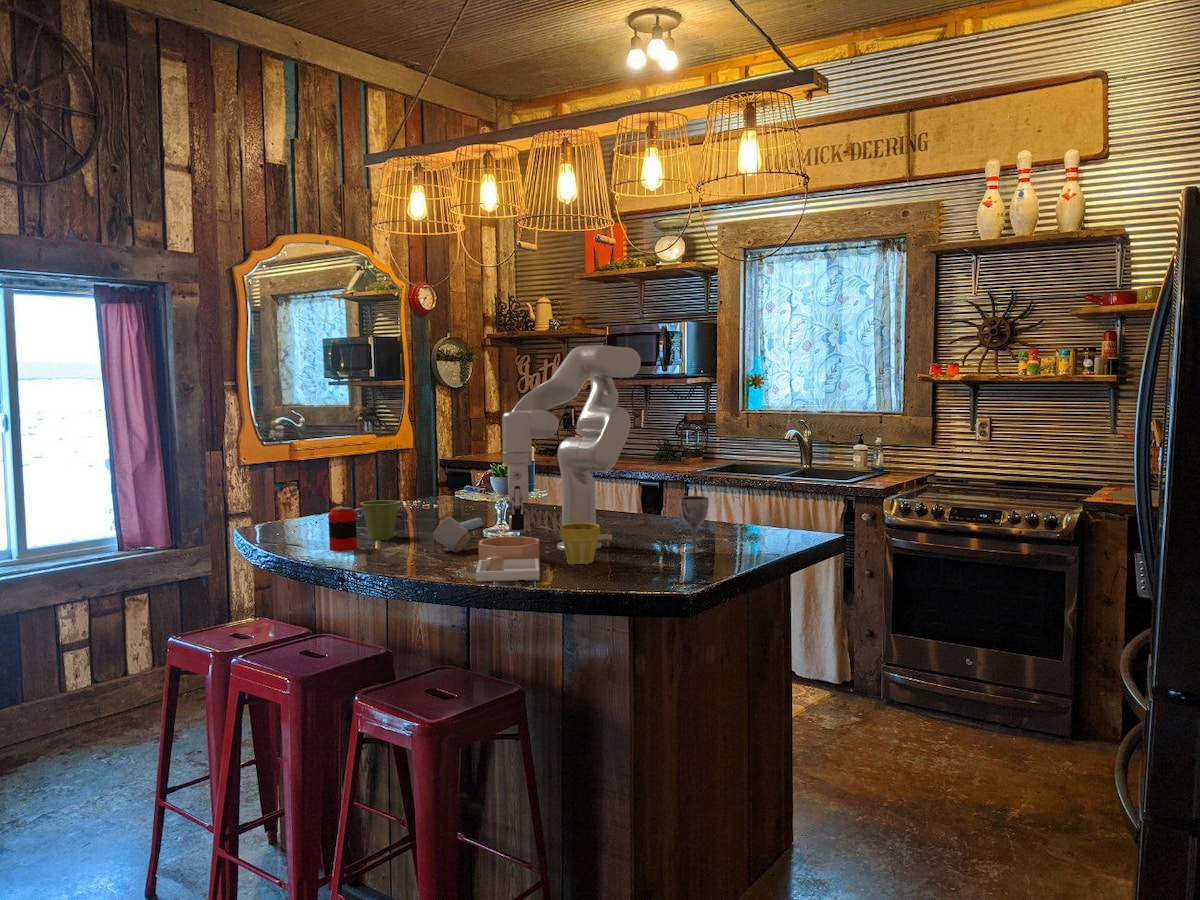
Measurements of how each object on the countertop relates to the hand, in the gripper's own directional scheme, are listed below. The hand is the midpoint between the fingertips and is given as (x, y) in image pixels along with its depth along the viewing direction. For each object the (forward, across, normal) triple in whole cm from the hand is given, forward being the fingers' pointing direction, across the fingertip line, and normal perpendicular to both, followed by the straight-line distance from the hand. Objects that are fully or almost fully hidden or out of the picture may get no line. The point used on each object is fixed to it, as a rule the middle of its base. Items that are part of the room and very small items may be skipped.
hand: (517, 527), depth 247 cm
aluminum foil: (+9, +53, +20) cm, 57 cm away
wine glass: (+9, +8, -48) cm, 50 cm away
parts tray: (+9, -16, +2) cm, 19 cm away
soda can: (+10, +25, +50) cm, 57 cm away
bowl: (+9, 0, +2) cm, 9 cm away
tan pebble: (+9, -16, +6) cm, 19 cm away
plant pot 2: (+9, -3, -16) cm, 19 cm away
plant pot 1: (+9, +43, +42) cm, 61 cm away
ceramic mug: (+9, +19, +18) cm, 28 cm away
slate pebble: (+1, 0, 0) cm, 1 cm away
